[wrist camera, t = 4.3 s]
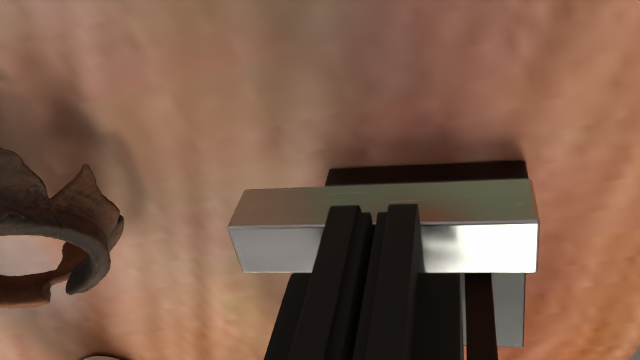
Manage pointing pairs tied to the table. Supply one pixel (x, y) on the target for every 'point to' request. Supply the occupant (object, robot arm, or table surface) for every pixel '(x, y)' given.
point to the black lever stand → (477, 288)
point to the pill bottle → (100, 358)
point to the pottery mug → (56, 230)
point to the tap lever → (432, 198)
